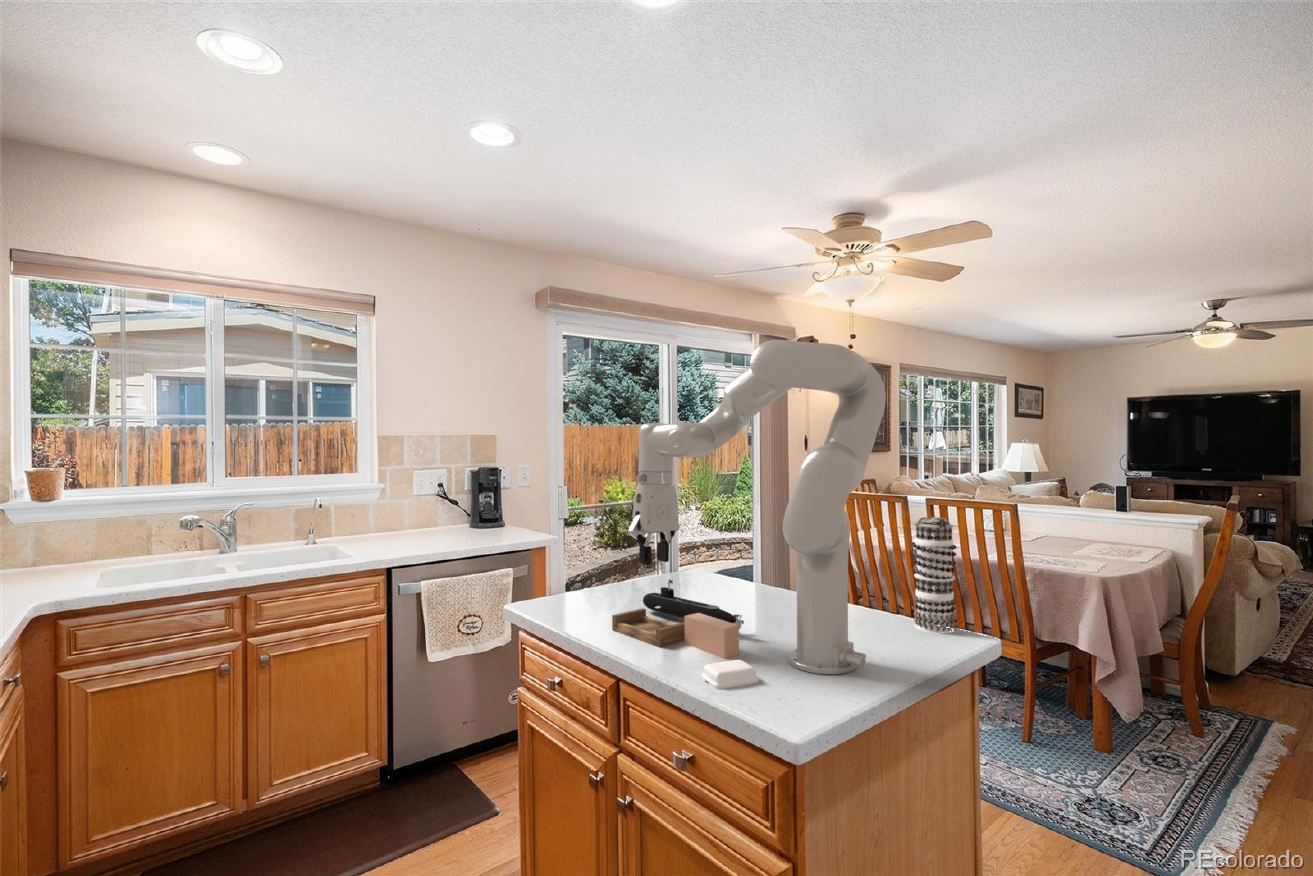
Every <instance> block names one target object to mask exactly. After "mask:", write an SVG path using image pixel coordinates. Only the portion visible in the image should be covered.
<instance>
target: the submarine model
mask: <svg viewBox="0 0 1313 876" xmlns="http://www.w3.org/2000/svg"><path fill="white" fill-rule="evenodd" d="M673 581H674V580H673V579H668V581H667V583H666V584H667V587H665V586H664V587H663V586H662V587H660V592H649V593H647V594H645V595H644V596H643V599H642V602H643V605H644V606H645V608H647V609H649V610H650V611H654V612H659V613H661V614H667V615H669V616H674V617H678V618H681V619H685V616H687V615H691V614H696V613H701V614H704V615H707V616H711V617H714V618H717V619H720V620H724V621H727V622H730V623H733V624H736V625H739V630H741V628H742V625H744V624H745V620H741V619H742V616H743V614H737V613H736V614H732V613H729V612H728V611H726V610H724V609H721V608H720V606H719V605H714V604H709V603H704V602H700V601H696V600H692V599H686V598H682V597H677V596H675V589H673V588H672V587H671V585H672V584H673ZM670 584H671V585H670Z"/></svg>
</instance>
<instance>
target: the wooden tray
mask: <svg viewBox="0 0 1313 876" xmlns="http://www.w3.org/2000/svg"><path fill="white" fill-rule="evenodd" d="M611 618H612V621H611V622H612V623H611V625H612V628H611V629H612V630H613V632H615V633H618V632H619V633H618V634H620V633H621V634H622V635H623V634H624V636H627V637H629V636H630V637H629V638H632V639H634V638H635V640H637V641H640V642H643V641H644V643H646V644H649V645H652V646H655V647H657V646H658V648H663V647H666V646H670V645H673V644H676V643H680V642H683V641H685V621H682V622H678V623H674V624H673V623H669V622H666V621H663V620H660V619H657V618H654V617H649V616H647V609H646V608H643V607H642V608H638V609H634V610H629V611H626V612H620V613H616V614H613V615H612V616H611Z"/></svg>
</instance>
